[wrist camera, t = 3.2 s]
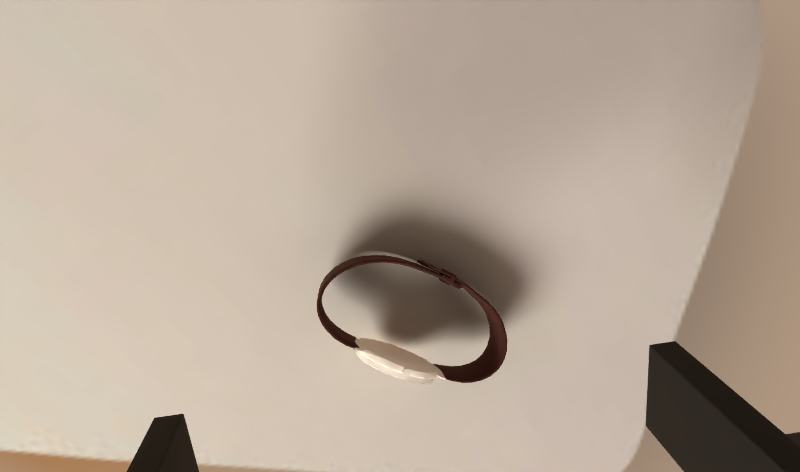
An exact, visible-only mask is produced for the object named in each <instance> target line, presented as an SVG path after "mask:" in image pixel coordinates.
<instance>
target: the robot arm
mask: <svg viewBox="0 0 800 472" xmlns="http://www.w3.org/2000/svg"><path fill="white" fill-rule="evenodd" d="M646 426H647V428H648V429H649V430H650V431H651V432H652V434H653V435H654V436H655V437H656V438H657V440H658V441H659V442H660V443H661V444H662V446H663V447H664V448H665V449H666V450H667V452H668V453H669V454H670V455H671V456H672V458H673V459H674V460H675V461H676V462H677V464H678V465H679V466H680V467H681V468H682V470H683V471H684V472H800V432H798V433H792V434H784V433H783V432H782V431H781V430H780V429H778V428H777V427H776V426H775V425H773V424H772V423H771V422H770V421H769V420H767V419H766V418H765V417H764V416H763V415H762V414H761V413H759V412H758V411H757V410H756V409H754V408H753V407H752V406H751V405H750V404H749V403H748V402H746V401H745V400H744V399H743V398H742V397H740V396H739V395H738V394H737V393H736V392H734V391H733V390H732V389H731V388H730V387H728V386H727V385H726V384H725V383H724V382H723V381H721V380H720V379H719V378H718V377H717V376H716V375H714V374H713V373H712V372H711V371H710V370H709V369H707V368H706V367H705V366H704V365H703V364H701V363H700V362H699V361H698V360H697V359H696V358H694V357H693V356H692V355H691V354H689V353H688V352H687V351H686V350H685V349H684V348H683V347H681V346H680V345H679V344H678V343H677V342H675V341H674V342H667V343H661V344H654V345H650V347H649V368H648V389H647V409H646ZM127 472H199V470H198V466H197V462H196V459H195V455H194V451H193V447H192V444H191V440H190V436H189V433H188V429H187V425H186V421H185V418H184V414H178V415H171V416H165V417H158V418H154V420H153V422H152V424H151V426H150V428H149V430H148V432H147V434H146V435H145V437H144V439H143V441H142V443H141V445H140V447H139V449H138V451H137V453H136V455H135V457H134V459H133V461H132V463H131V465H130V467H129V468H128V471H127Z"/></svg>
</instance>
